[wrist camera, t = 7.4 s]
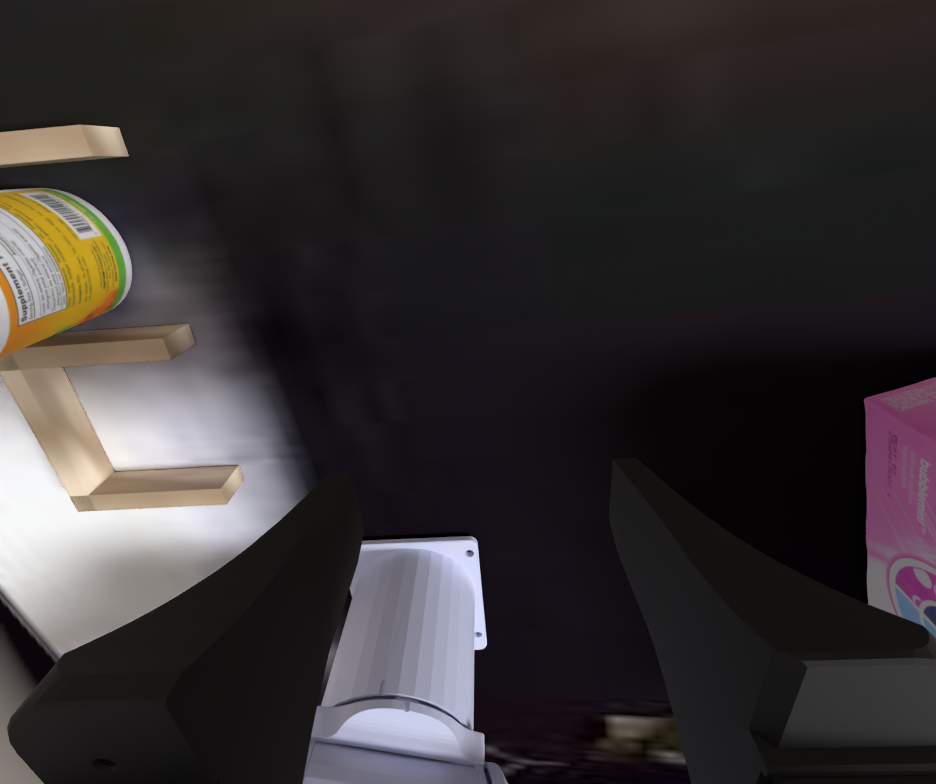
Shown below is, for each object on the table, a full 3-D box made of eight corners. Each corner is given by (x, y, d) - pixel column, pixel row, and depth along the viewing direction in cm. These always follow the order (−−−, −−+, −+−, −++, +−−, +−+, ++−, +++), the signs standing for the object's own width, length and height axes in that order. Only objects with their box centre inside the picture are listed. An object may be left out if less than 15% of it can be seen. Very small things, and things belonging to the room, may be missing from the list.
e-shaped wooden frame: (244, 480, 26) (226, 504, 24) (105, 487, 26) (78, 511, 25) (118, 127, 19) (80, 124, 17) (-73, 146, 19) (-131, 144, 17)
